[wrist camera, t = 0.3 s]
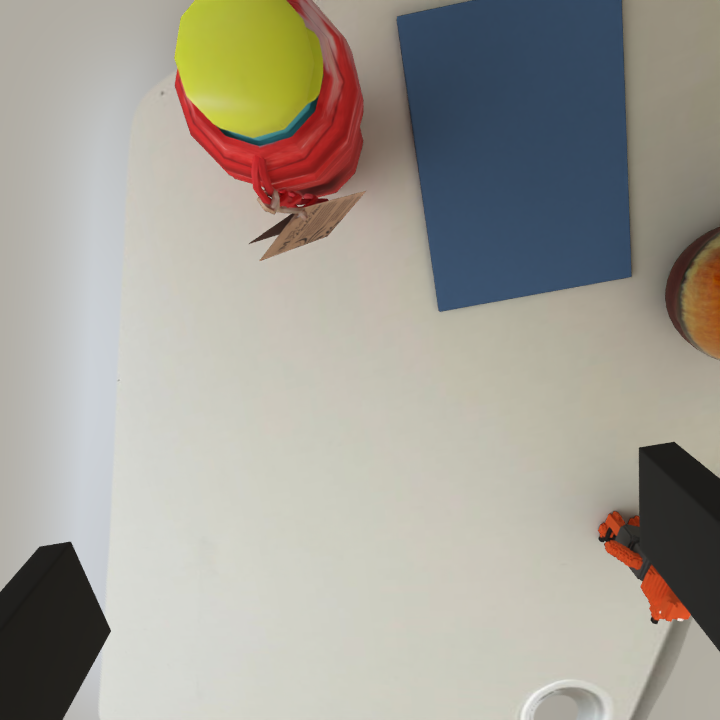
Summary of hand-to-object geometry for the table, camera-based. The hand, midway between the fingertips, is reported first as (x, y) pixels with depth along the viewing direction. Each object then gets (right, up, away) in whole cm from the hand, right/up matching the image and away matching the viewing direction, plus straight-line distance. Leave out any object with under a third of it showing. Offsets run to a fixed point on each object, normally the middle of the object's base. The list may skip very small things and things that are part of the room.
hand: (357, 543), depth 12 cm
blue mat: (+13, +20, +28) cm, 37 cm away
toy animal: (+25, -13, +38) cm, 47 cm away
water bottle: (-3, +19, +28) cm, 35 cm away
